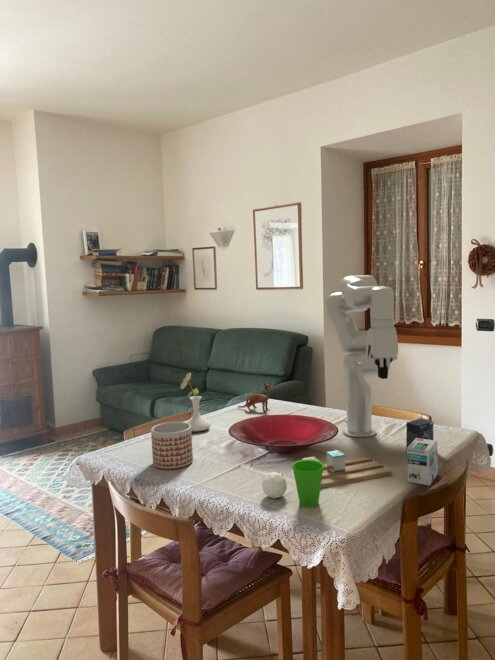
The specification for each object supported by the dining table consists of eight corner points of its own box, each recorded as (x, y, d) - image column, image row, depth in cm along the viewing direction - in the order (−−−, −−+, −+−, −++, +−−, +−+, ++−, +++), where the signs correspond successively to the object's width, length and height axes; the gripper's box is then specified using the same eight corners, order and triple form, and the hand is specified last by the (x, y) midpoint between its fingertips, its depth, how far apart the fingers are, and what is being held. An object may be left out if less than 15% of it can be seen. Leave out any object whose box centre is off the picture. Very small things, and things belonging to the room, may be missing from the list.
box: (419, 455, 178) (419, 425, 177) (406, 451, 183) (405, 421, 182) (434, 450, 182) (434, 421, 181) (420, 446, 187) (420, 417, 186)
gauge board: (296, 472, 168) (295, 453, 167) (367, 460, 176) (367, 442, 175) (315, 488, 154) (315, 468, 154) (391, 474, 163) (391, 455, 162)
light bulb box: (430, 486, 153) (429, 450, 152) (406, 482, 156) (406, 447, 155) (438, 473, 162) (438, 440, 161) (416, 470, 165) (415, 437, 164)
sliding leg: (327, 469, 166) (326, 451, 165) (338, 467, 167) (337, 450, 166) (333, 474, 161) (333, 456, 161) (345, 472, 163) (345, 454, 162)
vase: (177, 453, 191) (175, 419, 190) (201, 461, 181) (199, 426, 180) (145, 464, 181) (143, 428, 180) (168, 473, 172) (166, 435, 170)
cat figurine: (234, 410, 247) (233, 382, 245) (240, 407, 253) (239, 379, 251) (269, 413, 239) (268, 384, 238) (275, 410, 245) (274, 381, 243)
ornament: (264, 490, 155) (279, 467, 155) (281, 505, 150) (297, 482, 151) (252, 486, 150) (268, 462, 150) (270, 502, 145) (286, 477, 145)
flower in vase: (196, 424, 227) (193, 367, 224) (216, 428, 220) (213, 369, 218) (175, 432, 216) (171, 373, 214) (195, 436, 210) (192, 375, 207)
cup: (290, 497, 149) (288, 460, 148) (321, 495, 150) (320, 458, 149) (295, 511, 140) (294, 472, 139) (328, 509, 141) (327, 470, 140)
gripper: (395, 321, 181) (395, 373, 183) (356, 324, 176) (357, 378, 179) (408, 323, 174) (408, 377, 176) (368, 326, 169) (369, 382, 171)
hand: (382, 377), depth 177 cm, fingers closed
